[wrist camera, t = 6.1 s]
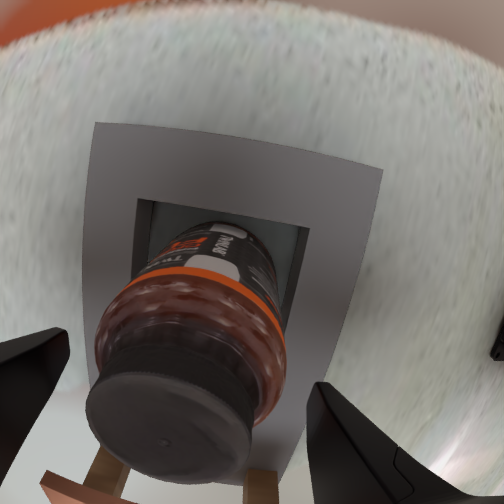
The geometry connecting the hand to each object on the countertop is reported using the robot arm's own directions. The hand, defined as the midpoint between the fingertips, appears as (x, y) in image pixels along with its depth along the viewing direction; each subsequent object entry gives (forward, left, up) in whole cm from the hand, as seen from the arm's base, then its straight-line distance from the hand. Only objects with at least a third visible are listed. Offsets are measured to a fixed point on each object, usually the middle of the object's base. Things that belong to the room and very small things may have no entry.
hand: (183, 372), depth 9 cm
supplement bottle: (0, 0, -9) cm, 9 cm away
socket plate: (0, +4, -8) cm, 9 cm away
